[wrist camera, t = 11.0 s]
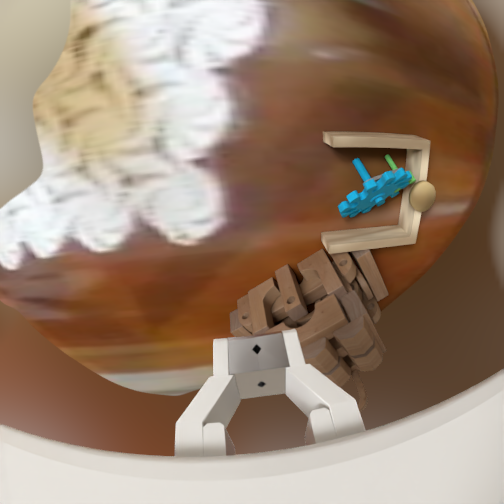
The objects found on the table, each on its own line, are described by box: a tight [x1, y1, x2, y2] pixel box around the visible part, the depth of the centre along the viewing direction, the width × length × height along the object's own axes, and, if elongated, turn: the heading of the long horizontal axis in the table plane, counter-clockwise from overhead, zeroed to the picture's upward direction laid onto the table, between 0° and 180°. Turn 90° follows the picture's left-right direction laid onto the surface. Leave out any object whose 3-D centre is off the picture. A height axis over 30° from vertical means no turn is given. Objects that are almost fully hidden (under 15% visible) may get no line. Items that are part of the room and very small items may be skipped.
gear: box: [338, 154, 416, 218], centre depth 32 cm, size 11×6×10 cm
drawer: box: [321, 132, 436, 254], centre depth 33 cm, size 14×15×4 cm
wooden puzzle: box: [230, 249, 389, 412], centre depth 35 cm, size 22×15×19 cm, turn 124°
